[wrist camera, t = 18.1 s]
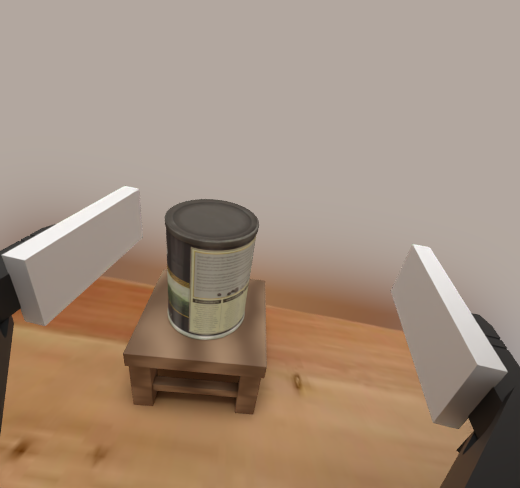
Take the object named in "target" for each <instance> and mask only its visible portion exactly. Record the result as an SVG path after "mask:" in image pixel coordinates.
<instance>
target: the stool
mask: <svg viewBox="0 0 520 488" xmlns="http://www.w3.org/2000/svg"><path fill="white" fill-rule="evenodd" d="M123 356H124V363H125V366H129V371H130V379H131V387H132V395H133V402H134V404H136V405H148V406H153V404H154V400H155V397H156V394H157V391H168V392H180V393H192V394H204V395H215V396H227V397H236V405H235V413H245V414H253V412H254V408H255V403H256V399H257V394H258V390H259V385H260V380H261V378H264V376H265V372H266V367H267V361H266V305H265V281H261V280H253V279H249V285H248V291H247V297H246V304H245V316H244V319H243V321H242V323H241V325H240V326H239V327H238V328H237V329H236V330H235V331H234V332H232V333H231V334H229V335H227V336H225V337H222V338H218V339H212V340H199V339H193V338H190V337H187V336H185V335H183V334H181V333H180V332H178V331H177V330H176V329H175V328H174V327H173V326H172V325H171V323H170V321H169V318H168V275H167V270H163V272H162V274H161V276H160V278H159V280H158V282H157V284H156V286H155V288H154V290H153V293H152V295H151V297H150V299H149V301H148V303H147V305H146V307H145V309H144V311H143V313H142V316H141V318H140V320H139V322H138V324H137V326H136V328H135V330H134V332H133V334H132V336H131V338H130V341H129V343H128V345H127V347H126V349H125V351H124V353H123ZM157 368H158V369H169V370H180V371H191V372H202V373H213V374H224V375H235V376H239V381H238V383H232V382H220V381H209V380H198V379H186V378H175V377H164V376H158V375H157Z"/></svg>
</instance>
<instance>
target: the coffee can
mask: <svg viewBox="0 0 520 488" xmlns="http://www.w3.org/2000/svg"><path fill="white" fill-rule="evenodd" d="M165 225H166V235H167V236H166V237H167V275H168V318H169V321H170V323H171V325H172V326H173V327H174V328H175V329H176V330H177V331H178V332H180V333H181V334H183V335H185V336H187V337H190V338H193V339H199V340H212V339H218V338H222V337H225V336H227V335H229V334H231V333H232V332H234V331H235V330H236V329H237V328H238V327H239V326H240V325H241V323H242V321H243V319H244V316H245V304H246V297H247V291H248V285H249V279H250V272H251V265H252V259H253V252H254V245H255V239H256V234H257V232H258V228H259V221H258V219H257V217H256V216H255V215H254V214H253V213H252V212H251V211H250V210H248V209H246V208H245V207H242V206H240V205H237V204H234V203H231V202H227V201H222V200H212V199H200V200H191V201H186V202H182V203H179V204H177V205H175V206H173V207H172V208H170V209H169V210H168V211H167V213H166V215H165Z"/></svg>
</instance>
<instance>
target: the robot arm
mask: <svg viewBox="0 0 520 488" xmlns="http://www.w3.org/2000/svg"><path fill="white" fill-rule="evenodd" d="M140 206H141V205H140V192H139V189H138V188H133V187H127V186H124V187H122V188H120V189H118V190H116V191H115V192H113V193H111V194H109V195H108V196H106V197H104V198H102V199H100V200H99V201H97V202H95V203H93V204H92V205H90V206H88V207H86V208H84V209H83V210H81V211H79V212H77V213H76V214H74V215H72V216H70V217H68V218H67V219H65V220H63V221H61V222H60V223H58V224H55V225H52V226H48V227H45V228H42V229H40V230H38V231H36V232H34V233H32V234H31V235H30V236H27V237H25V238H23V239H21V241H18V242H16V243H14V244H12V245H10V246H9V247H7V248H5V249H3V250H1V251H0V433H1V425H2V417H3V408H4V400H5V392H6V384H7V375H8V367H9V359H10V351H11V342H12V334H13V326H14V322H13V318H12V316H11V315H12V314H14V313H15V312H16V311H17V310H19V309H20V308H21V311H22V314H23V317H24V320H25V321H27V322H31V323H35V324H39V325H43V326H46V325H47V324H48V323H49V322H50V321H51V320H52V319H53V318H55V317H56V316H57V315H58V314H59V313H60V312H61V311H62V310H63V309H64V308H66V307H67V306H68V305H69V304H70V303H71V302H72V301H73V300H74V299H75V298H77V297H78V296H79V295H80V294H81V293H82V292H83V291H84V290H85V289H87V288H88V287H89V286H90V285H91V284H92V283H93V282H94V281H95V280H96V279H98V278H99V277H100V276H101V275H102V274H103V273H104V272H105V271H106V270H107V269H108V268H110V267H111V266H112V265H113V264H114V263H115V262H116V261H117V260H118V259H120V258H121V257H122V256H123V255H124V254H125V253H126V252H127V251H128V250H130V249H131V248H132V247H133V246H134V245H135V244H136V243H137V242H138V241H139V240H141V239H142V238H143V234H142V220H141V207H140ZM391 293H392V296H393V299H394V303H395V306H396V309H397V312H398V315H399V318H400V321H401V324H402V327H403V331H404V334H405V337H406V340H407V343H408V346H409V349H410V352H411V355H412V359H413V362H414V365H415V368H416V371H417V374H418V377H419V380H420V384H421V387H422V390H423V393H424V396H425V399H426V402H427V405H428V408H429V412H430V415H431V418H432V421H433V423H436V424H440V425H444V426H448V427H452V428H456V429H459V428H460V427H461V426H462V425H463V424H464V422H465V421H466V420H467V419H468V418H469V420H470V422H471V425H472V427H473V429H474V432H473V433H472V434H471V435H470V436H469V437H468V438H467V439H466V440H465V441H464V443H463V444H462V445H461V446H460V447H459V448H458V449H457V451H458V452H459V455H458V457H457V458H456V460H455V462H454V464H453V465H452V467H451V469H450V471H449V473H448V474H447V476H446V478H445V480H444V481H443V483H442V485H441V487H440V488H520V367H519V365H518V364H517V362H516V361H515V359H514V358H513V356H512V355H511V353H510V352H509V351H508V350H507V347H506V346H505V344H504V343H503V342H502V340H500V337H499V336H498V334H497V333H496V331H495V330H494V328H493V327H492V326H491V325H490V324H489V323H488V322H487V321H486V320H485V319H483V318H482V317H481V316H480V315H477V314H472V313H471V312H470V311H469V309H468V307H467V306H466V304H465V303H464V301H463V300H462V298H461V297H460V295H459V293H458V292H457V290H456V288H455V287H454V285H453V284H452V282H451V280H450V279H449V277H448V276H447V274H446V272H445V271H444V269H443V268H442V266H441V265H440V263H439V261H438V260H437V258H436V257H435V255H434V253H433V252H432V250H431V249H430V248H429V247H425V246H420V245H415V244H412V246H411V249H410V250H409V252H408V255H407V257H406V259H405V261H404V264H403V266H402V268H401V270H400V272H399V274H398V277H397V279H396V281H395V283H394V285H393V287H392V290H391Z"/></svg>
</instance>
